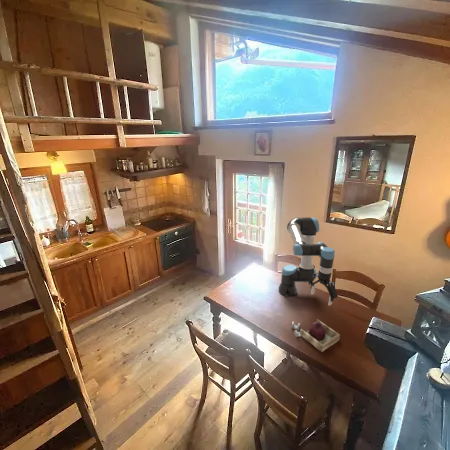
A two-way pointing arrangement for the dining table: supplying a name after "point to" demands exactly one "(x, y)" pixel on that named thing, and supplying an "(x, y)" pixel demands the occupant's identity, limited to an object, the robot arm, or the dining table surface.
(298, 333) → the clip
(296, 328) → the clip
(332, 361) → the dining table surface
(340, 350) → the dining table surface
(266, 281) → the dining table surface
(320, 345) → the tray
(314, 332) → the vegetable
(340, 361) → the dining table surface
